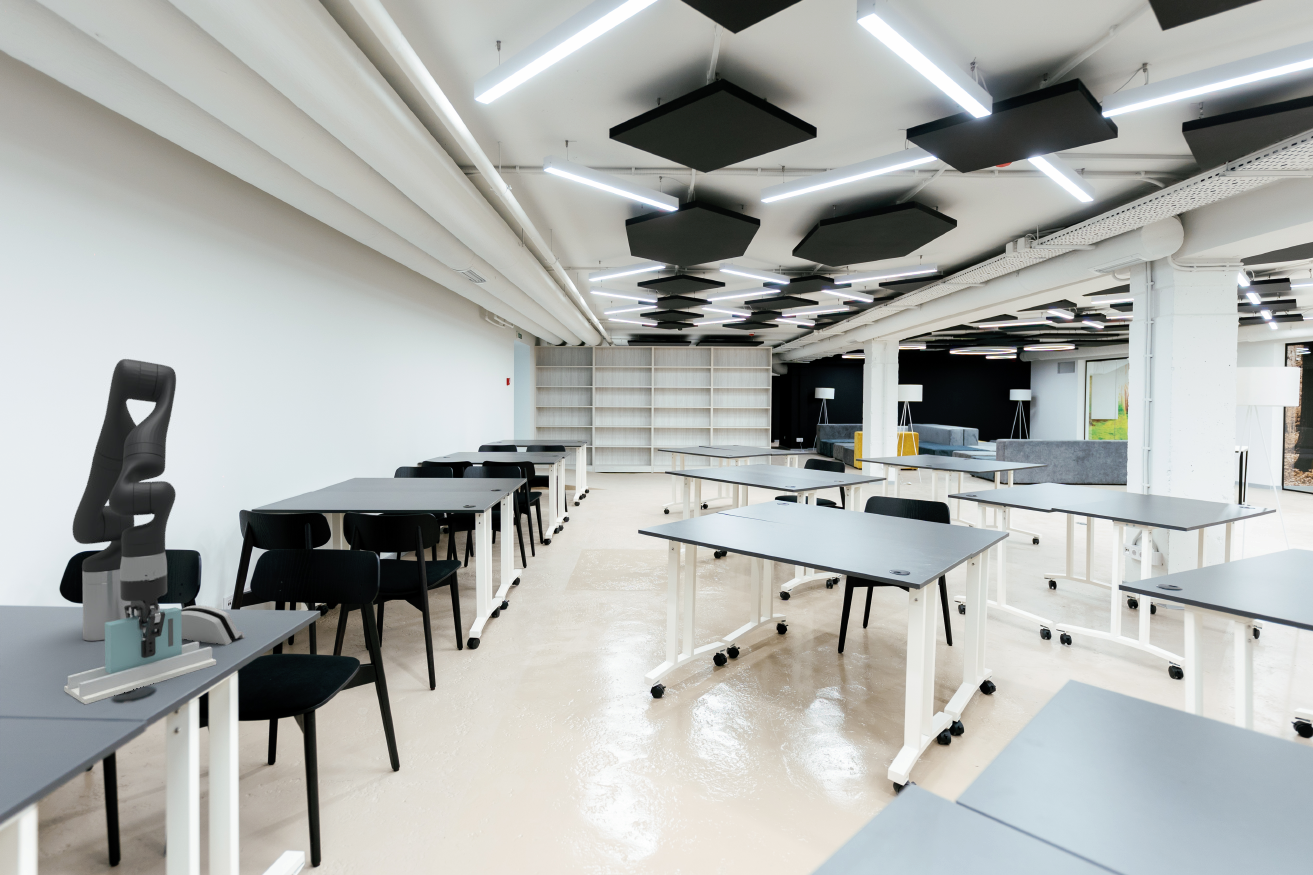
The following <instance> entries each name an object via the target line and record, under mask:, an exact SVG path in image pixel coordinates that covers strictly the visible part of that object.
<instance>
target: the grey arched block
mask: <svg viewBox="0 0 1313 875" xmlns="http://www.w3.org/2000/svg"><path fill="white" fill-rule="evenodd" d="M180 609H181V625H182V640H184V639H187V640H186V641H192V640H193V642H196V641H197V642H200V641H201V643H209V644H210V643H211V644H216V643H218V644H217V645H223V646H224V645H226V646H228V645H230V644H231V643H233V642H232V641H233V639H234V640H235V639H236V640H237V639H245V638H246V637H245V634H244V632H243V631H239V630H238V628H237V627H236V625H235V624H234V621H233V620H232V617H231V616H230V613H228V612H227V611H224V610H222V609H219V608H216V607H212V606H207V605H197V604H196V605H190V606H186V607H183V608H180Z"/></svg>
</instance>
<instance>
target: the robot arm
mask: <svg viewBox="0 0 1313 875" xmlns="http://www.w3.org/2000/svg"><path fill="white" fill-rule="evenodd" d="M113 370H114V371H113V372H112V376H111V380H110V387H109V394H108V400H107V404H106V411H105V415H104V419H103V424H102V426H101V429H100V433H99V436H98V439H97V442H96V446H95V450H94V452H93V457H92V462H91V467H90V472H89V476H88V478H87V481H86V482H87V483H86V486H85V489H84V490H83V491H84V492H83V494H82V497H81V499H80V502H79V504H78V506H77V509H76V512H75V515H74V517H73V522H72V536H73V538H74V540H75V541H76V542H77V543H78V544H82V545H88V544H89V545H92V544H100V543H109V542H110V543H109V545H108V546H107V547H106V548H104V549H102V550H101V551H99V552H97V553H95V554H93V555H91V556H88V557H86V558H85V559H83V561H82V564H81V568H82V569H81V570H82V639H83V640H84V641H87V642H88V641H89V642H90V641H91V642H92V641H94V642H95V641H105V623H107V622H111V621H116V620H120V619H125V618H129V617H132V618H133V617H136V619H137V629H138V630H140V633H141V640H142V641H141V656H142V657H143V658H147V657H151V656H154V655H155V653H156V650H155V638H157V637H159V636H161V633H162V628H163V624H164V619H165V612H160V611H161V609H160V604H159V603H158V599H159V598H160V597H163V596H165V595H166V594H167V593H168V560H167V555H166V530H167V525H168V521H169V517H170V515H171V513H172V512H171V511H172V510H173V506H174V503H175V500H176V495H177V494H176V489H175V487H174V486H173V485H172V484H171V483H170V482H168V481H162V480H160V481H159V480H158V481H157V480H155V481H146V480H150V479H151V480H152V479H154V478H158V477H160V476H161V475H163V474H164V472H165V470H166V453H167V452H166V450H167V449H166V448H167V434H168V430H169V426H170V421H171V417H172V411H173V406H174V400H175V394H176V388H177V387H176V386H177V375H176V372H175V369H174V368H173V367H171V366H168V365H164V364H159V363H154V362H149V361H142V360H136V359H129V358H123V359H121V360H119V361H118V362H117V363H116V365H115V367H114V369H113ZM128 400H134V401H141V402H142V401H143V402H148V403H155V405H154V408H153V410H152V411H151V412H150V413H149V414H148V416H146V417H145V419H143V420H142V421H141V422H139V424H136V423H135V422H134V420H133V417H132V415H131V413H130V411H129V408H128V405H127V404H128V403H127V401H128ZM107 503H108V505H106V504H107ZM147 515H154V516H153V518H152V519H151V520H150V521H148V522H146V523H142V524H139V525H135V516H147ZM159 612H160V613H159ZM145 623H147V625H142V624H145ZM145 630H146V631H145ZM151 631H152V632H151Z"/></svg>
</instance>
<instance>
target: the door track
mask: <svg viewBox="0 0 1313 875" xmlns="http://www.w3.org/2000/svg"><path fill="white" fill-rule="evenodd" d="M215 665H217V660H216V659H215V658H213V647H211V646H207V647H203V648H200V641H193V642H190V643H186V644H182V654H181V655H177V656H173V657H170V658H166V659H163V660H159V661H156V662H152V663H149V664H145V665H141V666H138V667H134V668H131V669H127V670H124V671H120V672H117V673H113V674H110V673H108V672H106V671H105V665H103V666H101V667H97V668H92V669H90V670H85V671H82V672H79V673H73V674H71V675H67V685H64V689H63V690H64V692H65V693H67V694H68V695H69V696H71V697H73V698H74V699H75V700H77V701H79V702H80V703H82V704H84V705H88V704H92V703H94V702H97V701H102V700H104V699H108V698H111V697H115V696H117V695H120V694H124V692H125V693H127V692H130V691H134V690H137V689H136V688H138V689H140V687H141V688H144V687H147V686H151V685H154V684H157V683H160V682H163V681H166V680H170V679H173V678H177V677H179V676H183V675H187V674H189V673H190V674H191V673H192V672H196V671H199V670H202V669H207V668H209V667H212V666H215ZM153 683H154V684H153ZM150 684H151V685H150ZM143 686H144V687H143ZM133 689H134V690H133ZM114 695H115V696H114Z"/></svg>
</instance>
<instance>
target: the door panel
mask: <svg viewBox="0 0 1313 875" xmlns="http://www.w3.org/2000/svg"><path fill="white" fill-rule="evenodd" d="M181 609H182V608H178V607H171V608H166V609H162V610H161V609H160V612H165V619H164V624H163V628H162V633H161V636H159V637H157V638H155V650H156V653H155V655H154V656H151V657H147V658H143V657H142V656H141V641H142V640H141V633H140V630H138V629H137V619H136V617H133V618H132V617H129V618H125V619H120V620H116V621H111V622H107V623H105V640H104V666H105V671H106V672H108V673H110V674H113V673H117V672H120V671H124V670H127V669H131V668H134V667H138V666H141V665H145V664H149V663H152V662H156V661H159V660H163V659H166V658H170V657H173V656H177V655H181V654H182V645H183V642H182V641H183V639H182V625H181ZM160 612H159V613H160ZM142 625H147V623H145V624H142ZM145 631H146V630H145ZM151 632H152V631H151Z"/></svg>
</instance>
